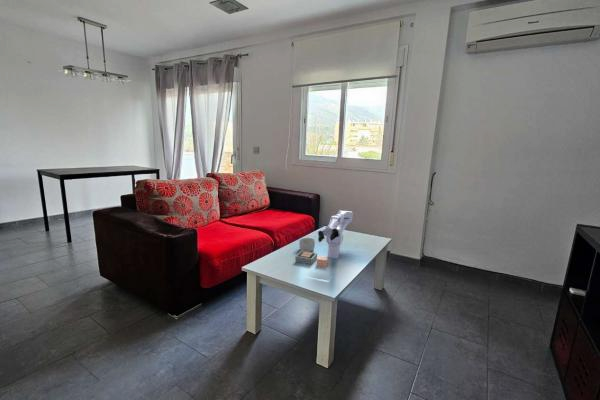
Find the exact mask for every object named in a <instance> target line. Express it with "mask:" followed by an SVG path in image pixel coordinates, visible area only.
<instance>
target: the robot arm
mask: <svg viewBox="0 0 600 400" xmlns="http://www.w3.org/2000/svg"><path fill="white" fill-rule="evenodd" d="M353 216H354V214H353V211H348V210H338V212H337V214H335V215H332V216H330V218H329V219H330V220H329V223H328V225H327V226H326V227H325V228H324V229H322V230H318V232H317V235H318V238H317V240H318V242H319V243H321V242H323V240H324V239H325V240H326V243H327V247H328V250H327V251H328V252H327V253H328V254H327V258H331V259H338V258H340V253H341V245H343V241H344V234H343V232H344V231H345V230H346V228H347V226H348V224H351V222H352V221H353ZM325 237H326V238H325Z"/></svg>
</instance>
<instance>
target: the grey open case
mask: <svg viewBox="0 0 600 400" xmlns="http://www.w3.org/2000/svg"><path fill="white" fill-rule="evenodd" d="M315 241H316V240H315V239H314V238H313V237H312V238H311V237H309V236H307V237H303V238H299V240H298V243H299V244H298V245H299V250H300V251H306V252H312V251H314V249H315V247H316V244H315V243H316V242H315Z"/></svg>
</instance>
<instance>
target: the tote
mask: <svg viewBox="0 0 600 400" xmlns="http://www.w3.org/2000/svg"><path fill="white" fill-rule="evenodd" d="M303 252H306V251H302V250H300V251H299V253H297V254H296V255H295V257H294V258H295V263H298V264H304V265H308V266H312V265H314V263H315V262H317V258H318V252H312V251H311V252H307V253H313V256H312V258H311V259H310V258H305V257H300V255H301V254H302V253H303Z"/></svg>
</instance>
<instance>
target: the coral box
mask: <svg viewBox="0 0 600 400" xmlns="http://www.w3.org/2000/svg"><path fill="white" fill-rule="evenodd" d="M328 265H329V257H328V256H326V257H325V256H320V255H319V256H317V259H316V266H318V267H319V266H320V267H324V268H326V267H327V266H328Z"/></svg>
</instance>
